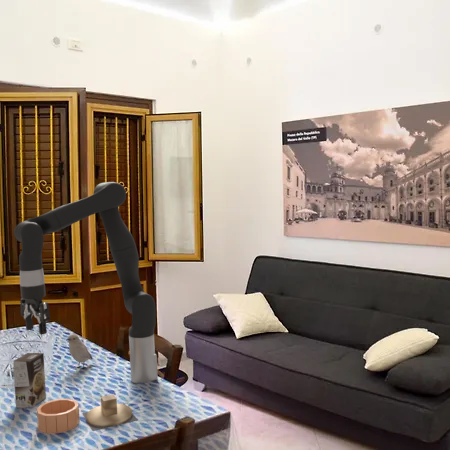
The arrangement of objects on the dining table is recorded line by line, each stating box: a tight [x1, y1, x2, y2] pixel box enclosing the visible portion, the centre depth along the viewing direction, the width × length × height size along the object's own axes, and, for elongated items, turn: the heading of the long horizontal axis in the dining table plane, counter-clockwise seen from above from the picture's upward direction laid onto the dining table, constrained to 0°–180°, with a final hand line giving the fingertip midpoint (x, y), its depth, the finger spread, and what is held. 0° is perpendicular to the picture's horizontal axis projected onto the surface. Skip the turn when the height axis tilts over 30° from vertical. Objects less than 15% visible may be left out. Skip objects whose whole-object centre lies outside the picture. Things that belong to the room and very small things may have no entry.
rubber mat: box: [81, 403, 138, 432], centre depth 168 cm, size 14×14×1 cm
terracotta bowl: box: [36, 398, 81, 434], centre depth 164 cm, size 12×12×6 cm
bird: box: [65, 333, 94, 370], centre depth 214 cm, size 5×14×15 cm, turn 148°
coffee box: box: [12, 352, 47, 409], centre depth 181 cm, size 9×6×16 cm
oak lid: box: [86, 393, 133, 428], centre depth 168 cm, size 14×14×6 cm
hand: (36, 331), depth 175 cm, fingers open, 8 cm apart
